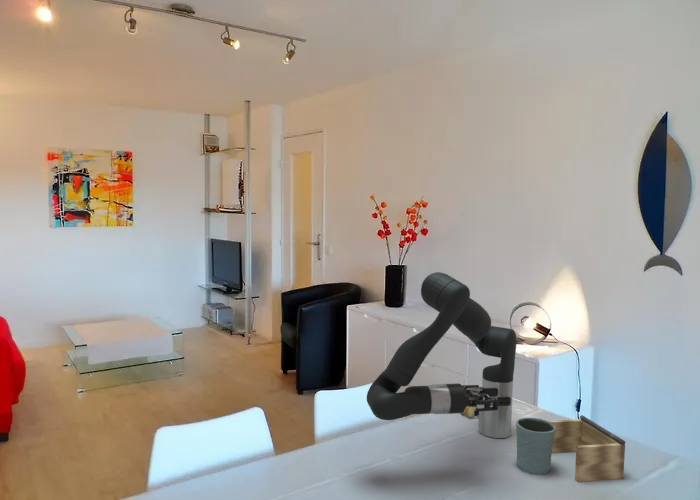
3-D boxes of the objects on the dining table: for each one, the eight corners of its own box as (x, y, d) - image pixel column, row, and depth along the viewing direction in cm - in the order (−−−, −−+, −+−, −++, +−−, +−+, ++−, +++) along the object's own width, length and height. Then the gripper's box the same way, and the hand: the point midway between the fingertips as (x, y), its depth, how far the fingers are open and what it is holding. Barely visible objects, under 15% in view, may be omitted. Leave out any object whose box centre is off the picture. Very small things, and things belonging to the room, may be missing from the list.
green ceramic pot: (525, 456, 160) (527, 414, 159) (560, 468, 153) (562, 424, 152) (507, 467, 153) (509, 423, 152) (542, 480, 146) (544, 434, 145)
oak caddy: (577, 481, 145) (579, 443, 144) (540, 451, 163) (541, 417, 162) (623, 478, 147) (625, 440, 147) (581, 449, 165) (583, 415, 165)
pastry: (452, 411, 195) (452, 400, 195) (467, 408, 199) (467, 398, 198) (470, 420, 187) (471, 409, 187) (486, 417, 191) (486, 406, 190)
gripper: (454, 393, 139) (517, 390, 142) (435, 376, 153) (492, 374, 156) (453, 423, 140) (516, 420, 143) (434, 403, 154) (491, 401, 157)
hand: (503, 396), depth 149 cm, fingers open, 7 cm apart
